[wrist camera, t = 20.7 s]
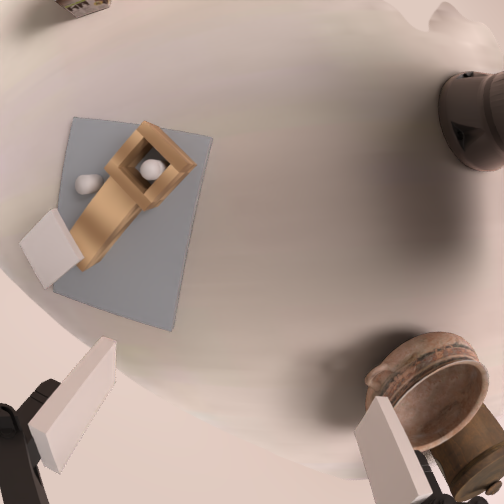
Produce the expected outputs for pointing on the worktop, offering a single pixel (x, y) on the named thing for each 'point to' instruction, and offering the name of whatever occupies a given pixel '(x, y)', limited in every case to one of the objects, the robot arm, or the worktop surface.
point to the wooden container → (473, 457)
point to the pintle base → (132, 239)
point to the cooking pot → (431, 386)
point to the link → (128, 192)
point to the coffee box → (83, 6)
